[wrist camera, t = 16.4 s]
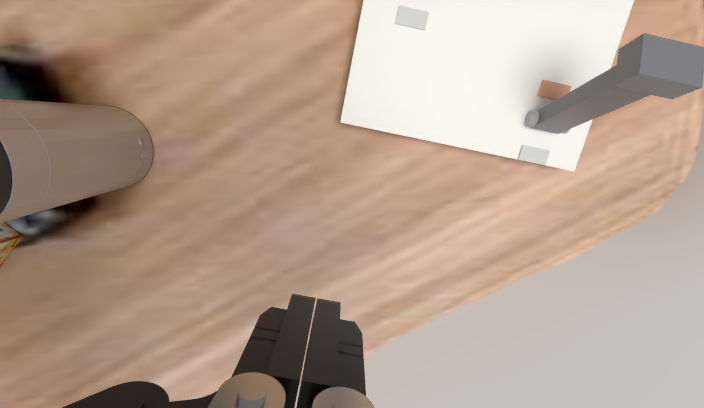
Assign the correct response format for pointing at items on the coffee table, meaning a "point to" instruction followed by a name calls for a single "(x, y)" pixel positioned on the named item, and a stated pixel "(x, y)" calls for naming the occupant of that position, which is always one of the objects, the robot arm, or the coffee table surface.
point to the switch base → (480, 70)
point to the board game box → (7, 241)
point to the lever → (626, 83)
